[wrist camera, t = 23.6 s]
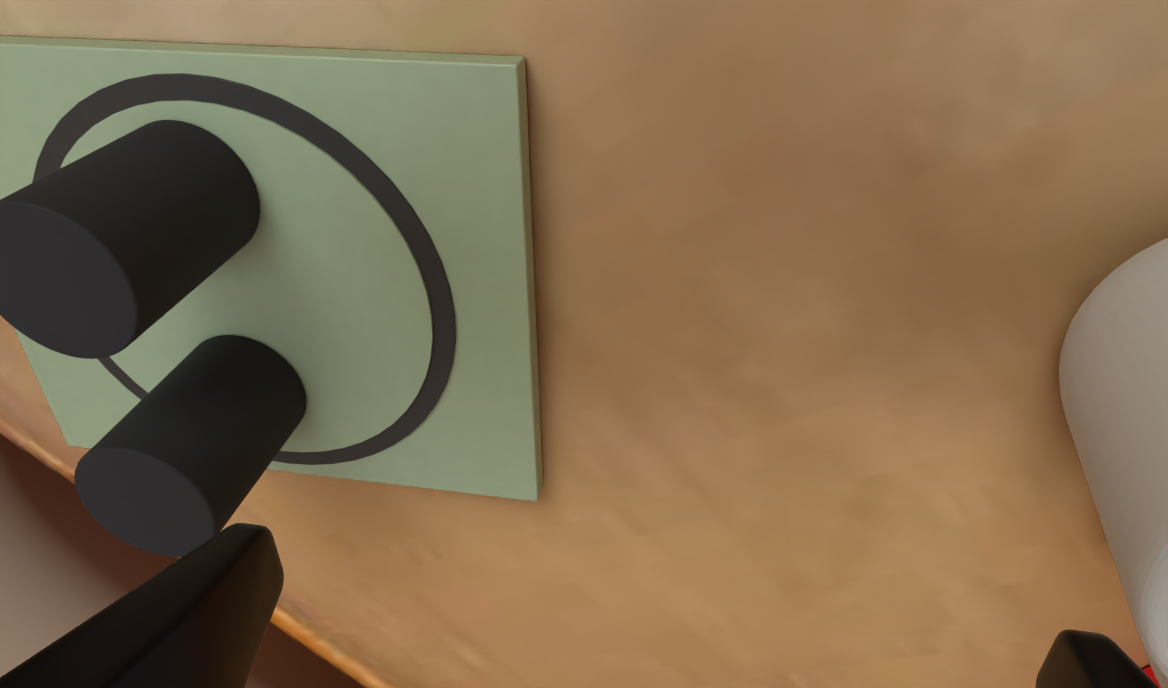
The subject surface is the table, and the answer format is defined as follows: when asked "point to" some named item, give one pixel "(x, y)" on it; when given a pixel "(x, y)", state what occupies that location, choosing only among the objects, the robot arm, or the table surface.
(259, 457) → the stamp
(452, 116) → the board
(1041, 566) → the table surface
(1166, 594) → the cup
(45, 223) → the stamp
